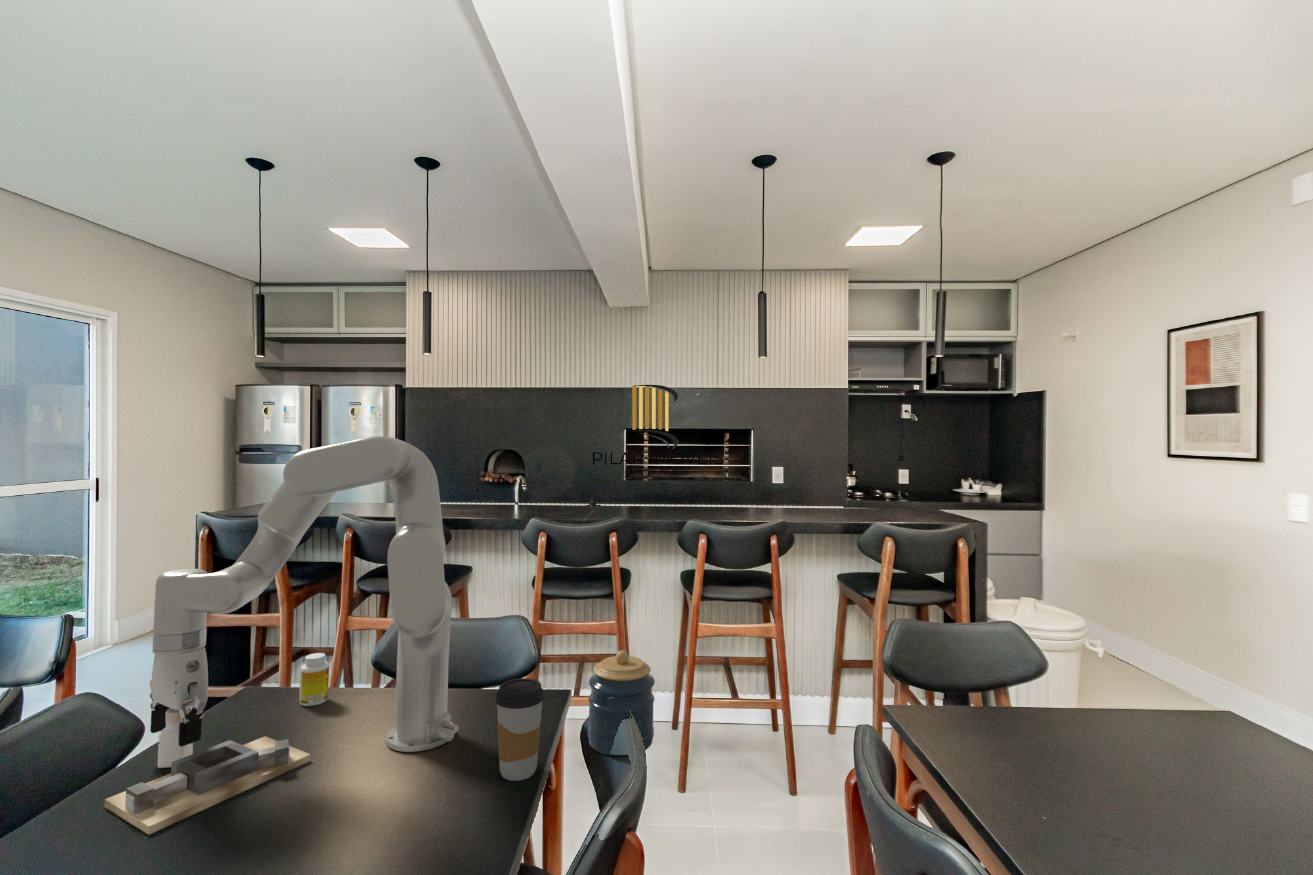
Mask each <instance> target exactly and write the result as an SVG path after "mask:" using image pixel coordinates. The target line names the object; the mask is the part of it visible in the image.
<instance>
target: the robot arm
mask: <svg viewBox="0 0 1313 875" xmlns="http://www.w3.org/2000/svg"><path fill="white" fill-rule="evenodd" d="M282 475H283V477H282V478H283V481H282V482H281V484H280V486H278V487H277V489H276V490H275V492H274V493H273V494H272V495H271V497H270V498H269V499H268V500H267V502H266V503H265V504H264V506H263V507H262V508H261V509H260V510H259V513H258V516H257V525H258V527H257V530H256V533H255V534H254V537H253V539H251V542H250V543H249V544H248V546H247V547H246V548H245V550H244V551H243V552H242V553H241V555H239V557H238V559H236V561H235V562H234V563H233V564H232V565H231V566H228V567H226V568H224V569H221V570H219V571H216V572H215V571H214V572H210V573H208V572H207V571H206V570H204V569H200V568H180V569H173V570H169V571H165V572H162V573H161V574H159V575H158V576H157V579H156V581H155V592H154V593H155V594H154V610H153V611H154V612H153V634H152V650H151V652H152V654H154V657H153V663H152V673H151V680H149V687H150V694H149V697H150V698H151V703H150V710H151V711H150V730H149V732H150V733H151V734H154V733H155V734H156V733H160V732H161V731H162V730H163V729H164V728H165V727H166V722H165V720H166V711H167V710H168V709H170V708H172V709H175V710H179V713H180V716H181V719H182V722H181V723H179V740H178V745H179V746H181V747H182V746H185V745H188V744H191V743H193V744H194V743H196V742H198V741H200V740H201V739H202V723H203V721H202V720H203V718H204V716H205V714H204V713H205V711H206V705H207V702H208V696H209V695H208V694H209V671H208V667H209V666H208V658H207V652H206V647H205V646H206V644H207V630H208V629H207V627H208V626H207V622H208V614H214V615H215V614H217V615H218V614H219V615H220V614H221V615H222V614H227V613H228V614H230V613H232V612H234V611H237V610H238V609H240V608H242V607H243V606H245V605H247V604H248V603H249V602H251V601H253V600H254V599H256V598H258V596H260V595H261V594H262V593H263V592H264V591H265V590H266V589H267V588H268V586H269V585H270V584H271V582H272V581H273V580H274V579H275V578H276V576H277V575H278V574H279V572H280V571H281V569H282V568H283V567H284V566H285V565H286V562H288V560H289V559H290V557H291V556H292V554H293V553H294V550H295V549H296V548H297V546H298V545H299V544H300V541H302V538H303V536H304V535H305V533H306V532H307V531H308V530H309V528H310V527H311V526H312V524H314V521H315V520H316V519H317V518H318V516H319V515H320V514H321V512H322V511H323V510H324V508H325V507H326V506H327V504H328V503H329V502H330V501H331V499H332V498H333V497H334V496H335V494H336V493H338V492H342V491H346V490H350V489H354V488H361V487H363V486H369V485H373V484H378V483H383V482H387V481H388V482H390V484H391V485H392V488H393V489H392V490H393V507H394V513H395V514H394V515H395V535H394V536H393V538H392V539H391V541H390V544H389V546H388V549H387V574H388V585H389V587H388V588H389V600H390V614H391V619H392V621H393V624H394V627H396V629H397V630H398V637H397V653H396V654H397V656H396V680H395V681H396V687H395V692H396V693H395V717H394V718H395V719H394V720H395V721H394V722H395V724H394V727H392V728H391V729H390V730H389V731H388V732H387V734H386V735H385V744H386V745H387V747H388V748H389V749H392V750H393V751H397V752H403V753H416V752H424V751H428V750H433V749H434V748H437V747H440V746H443V745H445V744H446V743H447V742H451V741H452V740H453V739H454V737H455V734H456V733H457V732H458V731H459V728H460V727H459V725H457V724H456V723H455V724H454V722H452V721H451V713H449V712H448V698H449V697H448V693H449V691H448V690H449V687H448V686H449V656H450V632H451V631H450V629H451V615H452V614H451V612H452V593H451V590H450V587H449V585H448V583H447V582H446V581H445V580H446V578H445V568H444V567H445V566H444V554H445V551H446V540H445V536H444V527H443V526H444V525H443V514H442V506H441V498H440V487H439V480H438V475H437V473H436V470H435V467H434V466H433V464H432V462H431V460H430V459H429V458H428V457H427V455H426V454H425V453H424V452H423V451H422V450H420V449H419V448H417V447H416V446H414V445H413V444H410V443H409V442H406V441H404V440H402V439H399V438H394V437H390V436H382V435H381V436H380V435H379V436H369V437H364V438H358V439H355V440H351V441H345V442H340V443H336V444H335V443H334V444H331V445H330V444H329V445H324V446H319V447H313V448H309V449H304V450H300V451H299V452H297V453H295V454H293V455H292V456H290V458H289V459H288V460H287V462H286V464H285V465H284V468H283V472H282ZM188 708H189V709H190V708H191V709H190V710H189V713H188V714H187V711H186V709H188Z"/></svg>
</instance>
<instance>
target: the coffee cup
mask: <svg viewBox="0 0 1313 875" xmlns="http://www.w3.org/2000/svg"><path fill="white" fill-rule="evenodd" d="M544 699H545V697H544V689H543V688H542V684H541V682H540V680H539V681H538V680H537V679H534V678H527V677H526V678H525V677H522V678H513V679H509V680H506V681H504V682H502V683H501V684H500V685H499V688H498V691H497V692H496V698H495V703H496V711H497V712H496V713H497V725H496V726H497V744H498V745H497V749H498V759H499V761H498V762H499V763H498V765H499V773H500V774H501V776H502V778H504V779H505V780H507V781H511V782H512V781H514V782H516V781H523V780H527V779H529V778H531V777H532V776H533V775H534V774H535V773H536V770H537V767H538V756H539V748H540V738H541V726H542V709H543V700H544Z"/></svg>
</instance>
